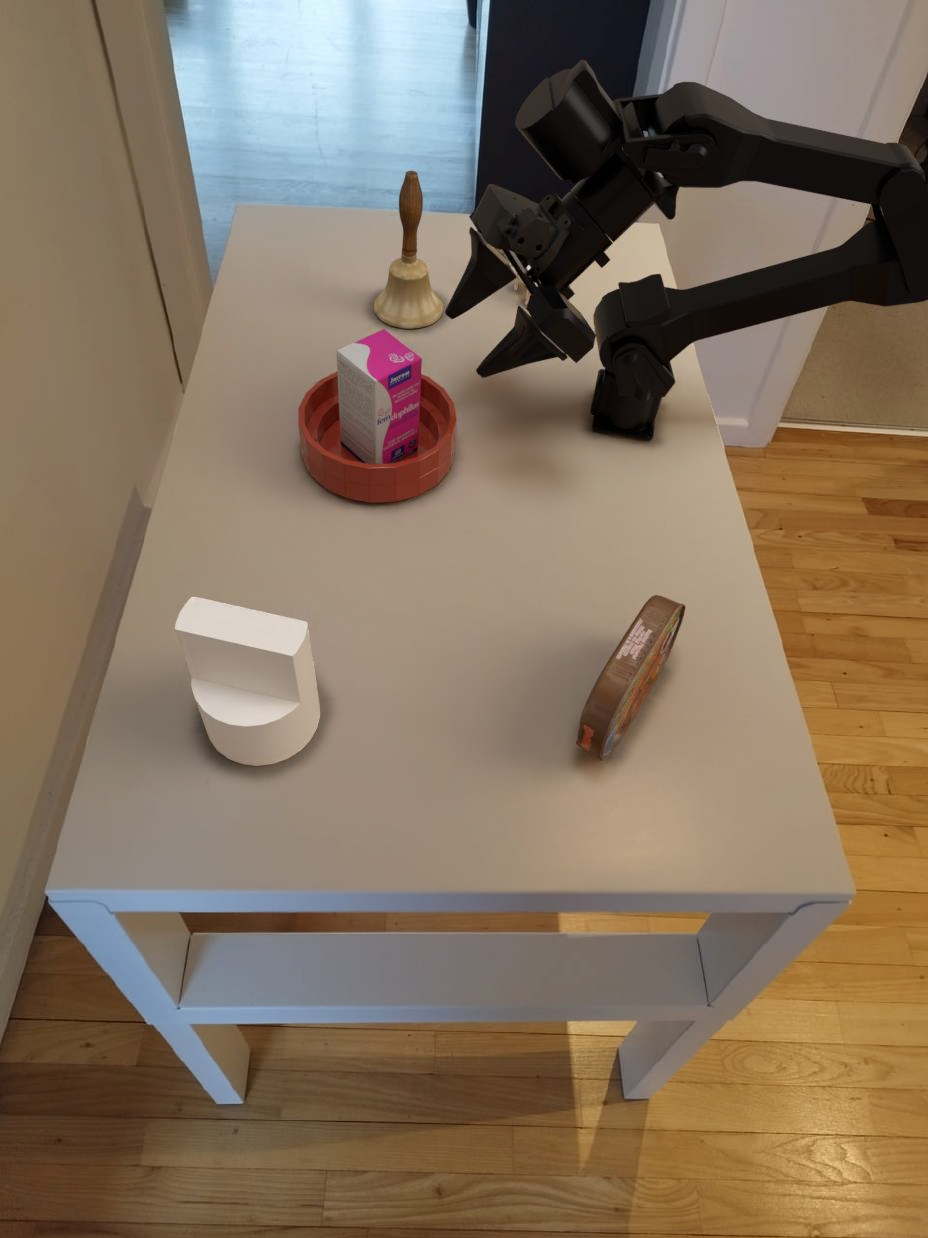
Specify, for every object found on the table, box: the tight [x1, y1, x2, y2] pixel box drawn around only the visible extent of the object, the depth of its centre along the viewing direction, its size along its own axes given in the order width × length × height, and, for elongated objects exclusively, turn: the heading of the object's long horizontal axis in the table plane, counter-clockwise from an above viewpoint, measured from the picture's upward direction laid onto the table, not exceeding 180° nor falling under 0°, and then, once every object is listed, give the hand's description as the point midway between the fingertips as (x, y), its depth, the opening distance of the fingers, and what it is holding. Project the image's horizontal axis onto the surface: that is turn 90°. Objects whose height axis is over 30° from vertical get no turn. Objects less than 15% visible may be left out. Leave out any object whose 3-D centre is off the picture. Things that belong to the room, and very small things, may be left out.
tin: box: [575, 594, 686, 762], centre depth 69 cm, size 15×3×8 cm, turn 148°
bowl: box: [297, 371, 458, 504], centre depth 87 cm, size 15×15×5 cm
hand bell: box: [372, 170, 444, 330], centre depth 98 cm, size 8×8×16 cm
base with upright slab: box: [174, 596, 321, 767], centre depth 65 cm, size 9×9×12 cm
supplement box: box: [336, 328, 423, 464], centre depth 84 cm, size 6×6×12 cm
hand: (463, 344), depth 82 cm, fingers open, 9 cm apart
